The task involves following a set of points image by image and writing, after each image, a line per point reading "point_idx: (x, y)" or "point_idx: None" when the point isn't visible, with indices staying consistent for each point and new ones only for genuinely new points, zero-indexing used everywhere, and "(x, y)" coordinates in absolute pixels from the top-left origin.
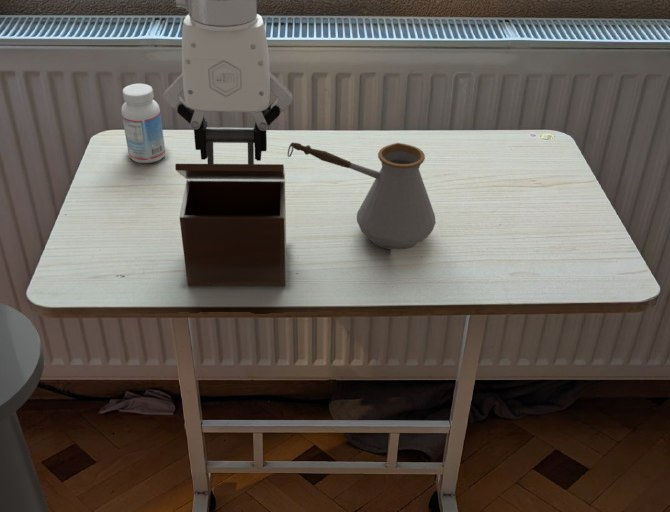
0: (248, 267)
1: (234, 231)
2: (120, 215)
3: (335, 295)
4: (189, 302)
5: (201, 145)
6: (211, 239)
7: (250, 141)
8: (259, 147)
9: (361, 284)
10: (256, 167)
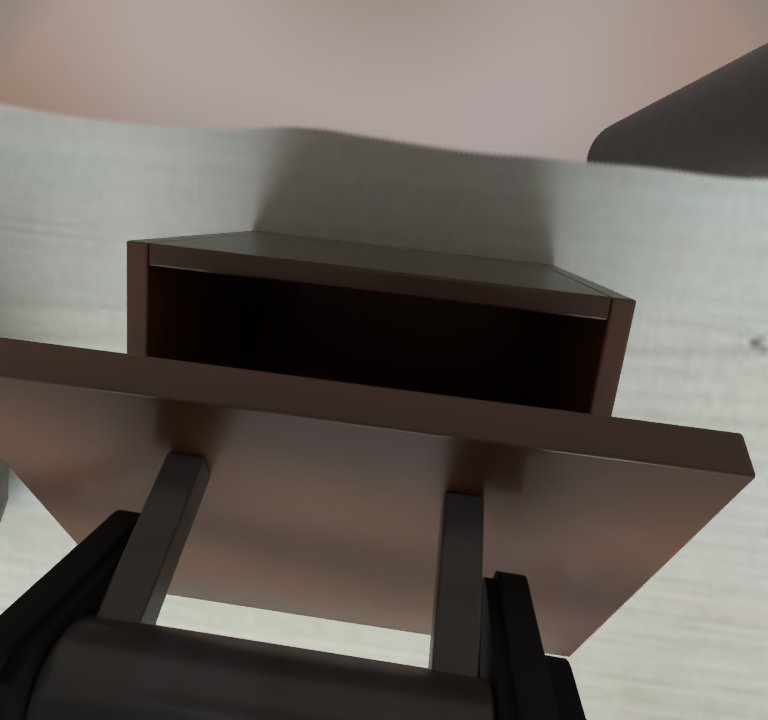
0: (350, 246)
1: (375, 262)
2: (729, 660)
3: (104, 166)
4: (555, 176)
5: (530, 646)
6: (477, 270)
7: (113, 621)
8: (63, 560)
9: (28, 216)
10: (125, 373)
